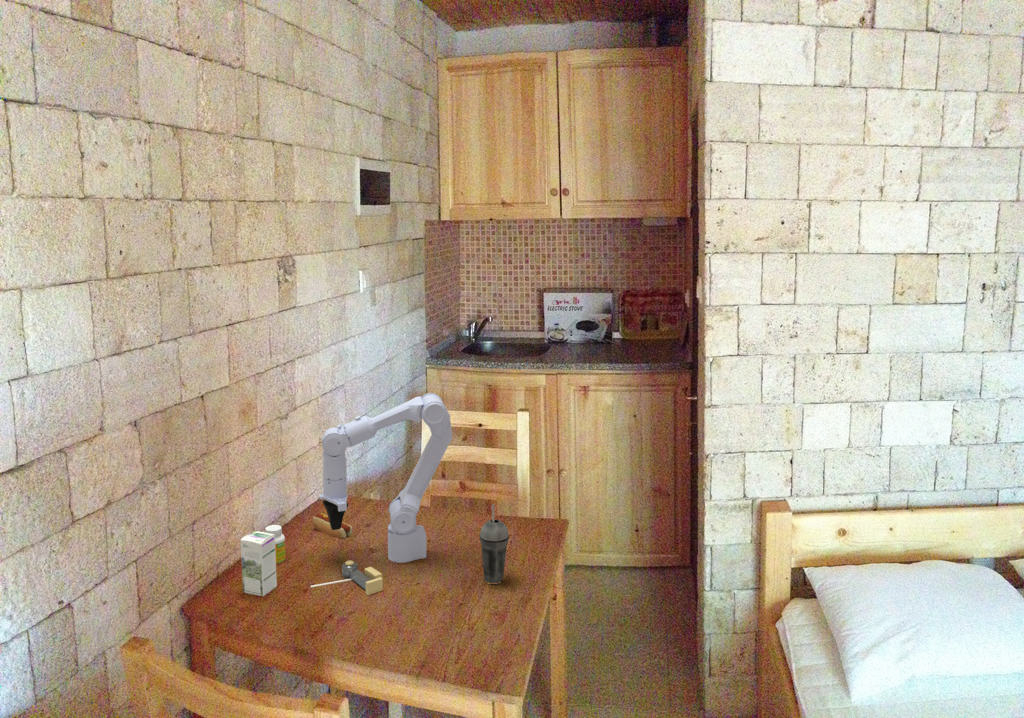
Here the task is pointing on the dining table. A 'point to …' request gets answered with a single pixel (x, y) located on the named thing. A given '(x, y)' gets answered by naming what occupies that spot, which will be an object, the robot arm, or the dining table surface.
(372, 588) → the board
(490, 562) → the beverage cup
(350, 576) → the latch bar
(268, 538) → the syrup box
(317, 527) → the food
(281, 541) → the supplement bottle
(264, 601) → the dining table surface
